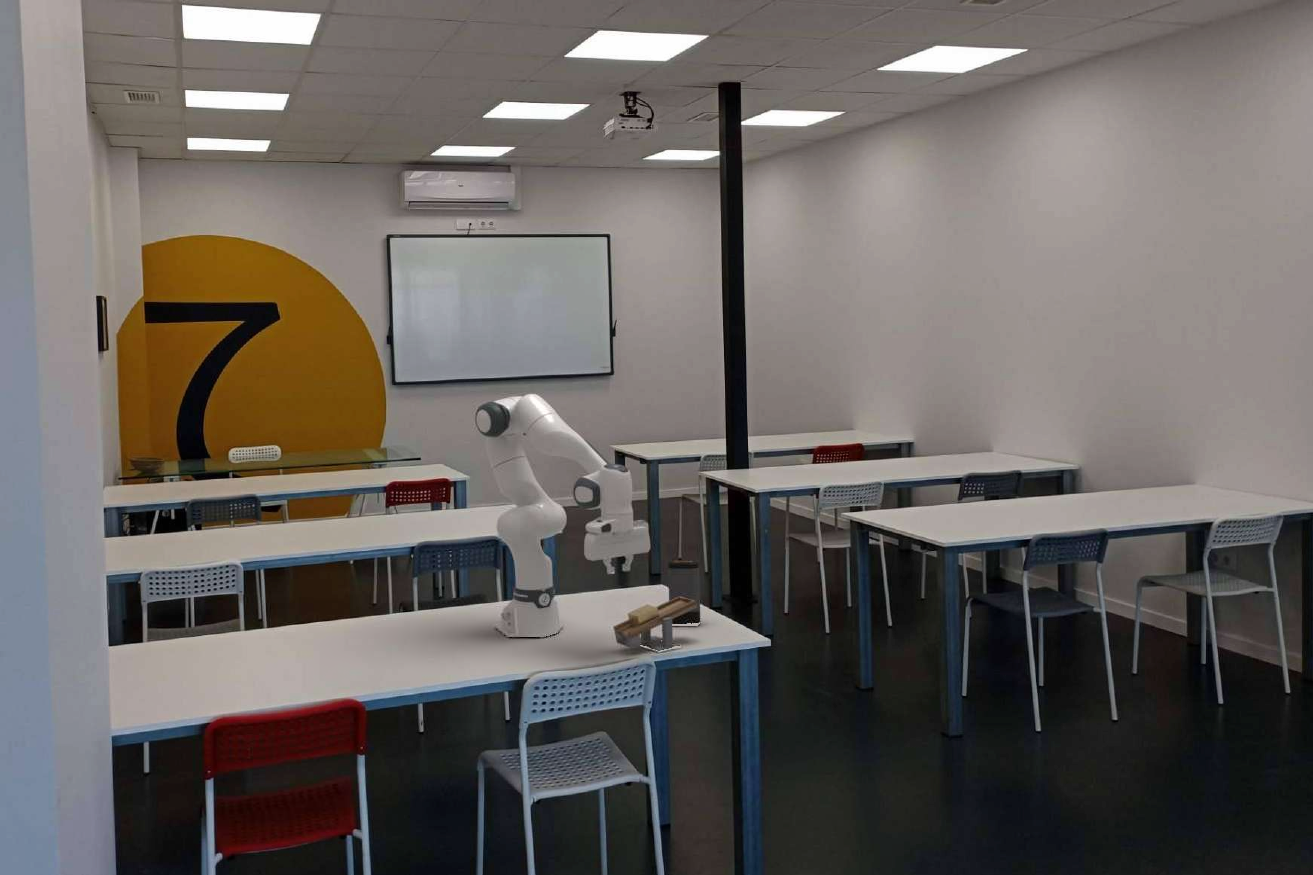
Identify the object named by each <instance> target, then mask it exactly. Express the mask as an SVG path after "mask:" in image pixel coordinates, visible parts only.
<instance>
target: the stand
mask: <svg viewBox="0 0 1313 875" xmlns="http://www.w3.org/2000/svg"><path fill="white" fill-rule="evenodd" d="M661 626H662V628H661V633H662V636H661V637H660V636H658V635H657V636H656V635H651V634H652V633H651V632H652V629H650V630H648V631H646V632H644V633H642V634H640V639H641V644H642V645H643V646H647V647H649V648H651V649H655V650H658V651H660V650H664V649H669V648H672V647H674V646H680V645H682V644H681V643H678V644H677V642H674V640H673V634H674V633H673V627H672V618H670V617H667V618H662V624H661ZM661 640H662V641H661Z"/></svg>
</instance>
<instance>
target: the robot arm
mask: <svg viewBox="0 0 1313 875" xmlns="http://www.w3.org/2000/svg"><path fill="white" fill-rule="evenodd" d="M474 419H475V420H474V421H475V425H476V427H477V429H478V431H479V433H480V434H482V436H485V437H486V438H485V448H486V449H485V450H486V453H487V458H488V462H489V464H490V468H491V470H492V472H493V475H494V478H495V481H496V483H497V486H498V489H499V490H500V493H501V494H502V495H503V496H504V497H505V498H507V499H509V500H510V501H511V502H513V503H514V505H515V506H516V507H514V508H511V509H509V510H507V511H505V512H503V513H502V514H500V516H499V517H498V519H497V521H496V532H497V535H498V537H499V539H500V540H502V542H503V543H505V544H506V546H508V549H509V550H510V553H511V555H512V558H513V563H514V574H515V576H514V577H515V586H513V587H512V589H513V590H512V592H513V594H512V599H511V600H510V602H509V603H507V605H506V606H504V608H503V609H502V612H501V614H500V615H501V620H502V621H501V622H498V623H495V624H494V628H495V629H496V628H497V629H498V631H499V632H500V631H501V632H502V635H504V634H505V635H506V636H505V635H504V636H505V637H507V638H508V637H540V638H545V637H546V636H547V637H551V636H553V635H552V634H555V635H557V634H558V631H559V630H560V631H561V629H560V628H562V629H563V628H564V624H563V623H561V621H560V611H559V604H558V601H556V600H555V597H556V595H555V592H556V591H555V585H554V583H553V582H554V581H553V562H552V559H551V558H550V556H548V555H547V554H545V553H544V550H543V548H542V545H541V544H542V542H541V540H545V539H549V538H552V537H553V536H555V535H558V534H559V533H560V532H562V531H563V530H564V529H565V527H566V525H567V521H568V520H567V519H568V518H567V513H566V511H565V509H564V508H563V506H562V505H561V504H559V503H557V502H556V501H554V500H553V499H551V498H550V497H549V495H547V493H546V492H545V491H544V489H543V488H542V487H541V486H540V484H539V482H538V481H537V478H536V477H535V474H534V472H533V470H532V467H531V464H530V462H529V460H528V458H527V455H526V452H525V451H524V447H523V445H522V437H523V436H526V437H527V439H528V440H529V441H530V443H531V444H532V445H533V446H534V448H536V449H537V450H538V451H540V452H541V453H542V454H544V455H549V456H553V457H554V456H555V457H560V458H561V457H562V458H566V459H570V460H572V461H575V462H576V463H579V464H580V465H581V466H582V467H583V468H584V469H585V470H586V472H587V473H589V474H587V475H584V476H582V477H579V478H577V479H576V481H575V482H574V484H573V488H572V497H573V500H574V501H575V504H576V505H577V506H578V507H579V508H581V509H583V510H590V511H591V510H596V509H600V512H601V513H600V516H598V517H597V518H596V519H594V520H592V521H589V522H588V523H586V525H585V531H586V532H587V533H586V534H585V537H584V543H583V546H584V548H583V550H584V551H583V552H584V553H583V554H584V557H585V558H586V560H588V561H593V562H595V561H599V560H600V561H601V560H602V562H603V563H604V566H605V567H606V573H607V575H612V574H615V573H616V571H615V569H616V568H615V567H614V566H612V564H611V562H612V558H613V559H614V558H618V557H619V558H620V557H624V558H625V562H624V563H623V564H621V566H622V569H621V571H623V572H630V570H631V564H632V562H633V560H634V555H638V554H645V553H649V552H650V550H651V538H650V532H649V523H648V522H647V521H645V520H644V519H639V520H634V510H633V506H632V500H633V497H634V496H633V492H634V491H633V480H632V475H631V472H630V470H629V468H628V467H626V466H625V465H623V464H618V463H610V462H608V461H607V459H606V458H604V456H603V455H602V453H600V452H599V451H598V450H597V449H596V448H595V446H593V445H592V444H591V443H590V442H589V441H588V440H587V439H585V438H584V437H583V436H582V435H581V434H579V433H578V432H576V431H574V430H573V429H572V427H570V426H569V425H568V424H567V423H566V421H564V420H563V419H562V417H561V416H559V414H558V413H557V412H556V410H555V409H554V408H553V407H552V406H551V405H550V404H549V403H548V402H547V401H546V400H545V399H544V398H542V397H541V396H540V395H538V394H536V393H528V394H524V395H521V396H518V395H517V396H507V397H504V398H501V399H497V400H494V401H487V402H485V403H483V404H482V405H480V406H478V408H477V410H476V412H475V418H474ZM497 629H496V630H497ZM560 631H559V632H560ZM501 632H500V633H501ZM556 633H557V634H556ZM550 635H551V636H550Z"/></svg>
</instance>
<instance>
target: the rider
mask: <svg viewBox="0 0 1313 875" xmlns="http://www.w3.org/2000/svg"><path fill="white" fill-rule="evenodd" d="M658 617H659V613H658V608H657V606H653V605H650V604H646V605H643V606H641V607H638V608H637V609H634V610H632V611H629V612H627V618H628V620H629V622H630V625H632V626H635V627H639V626H641V625H643V624H645V623H647V622H649V621H651V620H653V619H656V618H658Z"/></svg>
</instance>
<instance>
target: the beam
mask: <svg viewBox="0 0 1313 875" xmlns="http://www.w3.org/2000/svg"><path fill="white" fill-rule="evenodd" d="M656 607H657V608H658V613H659V617H658V618H656V619H653V620H651V621H649V622H647V623H645V624H643V625H641V626H639V627H635V626H632V625H630V622H629V619H626V620H625V621H622V622H619V623H618V624H616V625H614V626H613V630H614V635H615V640H616V643H617V644H620V645H621V646H625V647H627V648H630V649H633V650H634V649H635V648H637V647H640V645H642V644H641V634H642V633H644V632H646V631H648V630H650V629H651V630H652V629H654V628H657V627H658V626H662V618H667V617H670V618H672V619H674V618H676V617H678V616H680V615H682V614H684V613H686V612H688V611H690V610H693V609H695V608H697V604H696V601H695V600H691V599H687V598H684V597H680V596H678V597H676V598H674V599H672V600H670V601H669V600H668V601H666V602H664V603H662V604H660V605H657V606H656Z"/></svg>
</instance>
